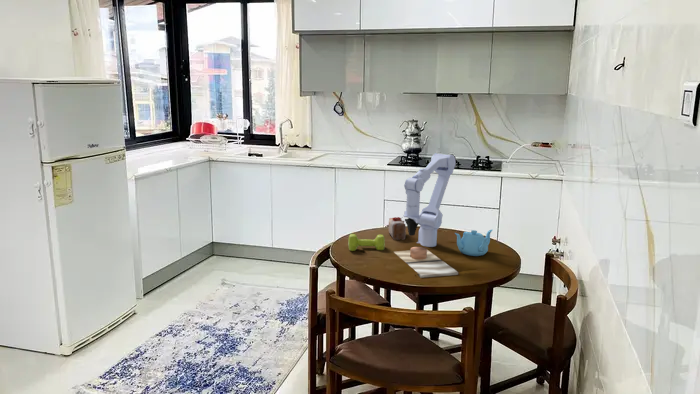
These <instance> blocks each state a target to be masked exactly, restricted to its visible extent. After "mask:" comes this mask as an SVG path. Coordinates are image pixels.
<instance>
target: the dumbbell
mask: <svg viewBox="0 0 700 394" xmlns="http://www.w3.org/2000/svg"><path fill="white" fill-rule="evenodd" d="M385 243H386V241H385V236H384V234H377V235H376V237H375V238H374V239H369V238H368V239H367V238H366V239H361V238H358V236H357V234H355V233H350V234H349V235H348V243H347V245H348V250H349V251H351V252H355V251H357V249H358V247H374V248H375V249H376V250H377V251H385V246H386V244H385Z"/></svg>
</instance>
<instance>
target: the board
mask: <svg viewBox="0 0 700 394" xmlns="http://www.w3.org/2000/svg"><path fill="white" fill-rule="evenodd" d="M393 253H394V254H395V255H396V256H397V257H398V258H399V259H401V260H402V261H403V262H405V264H407V265H408V266H409V267H410V268H411V269H413V270H414V271H415V272H416V275H417V276H418V277H419V278H420V279H422V278H423V279H424V278H435V277H445V276H447V277H448V276H457V275H459V271H457V269H455V268H453V267H452V266H451V265H449V264H447V263H446V262H445V261H443V260H442V259H441V258H440V257H438V256H437V255H435V254H434V253H432V252H431V251H430V250H428V249H427V258H426V259H421V260H419V259H413V258H411V257H410V250H399V251H397V250H395V251H393Z"/></svg>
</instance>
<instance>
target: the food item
mask: <svg viewBox="0 0 700 394" xmlns="http://www.w3.org/2000/svg"><path fill="white" fill-rule="evenodd" d="M403 217H404V216H402V217H398V216H397V217H390V218H388V219H389V220H388V233H389V234H390V236H391V238H392V239H393V240H395V241H396V239H397V240H399V241H400V239H402V241H403V240H405V239H406V229H407V224H406V222H405V220H402V218H403Z"/></svg>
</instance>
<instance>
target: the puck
mask: <svg viewBox="0 0 700 394" xmlns="http://www.w3.org/2000/svg"><path fill="white" fill-rule="evenodd" d="M427 250H428V249H427V248H426V247H424V246H423V247H422V246H413V247H410V249H409V251H410V257H411V258H413V259H419V260H421V259H426V258H427Z"/></svg>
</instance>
